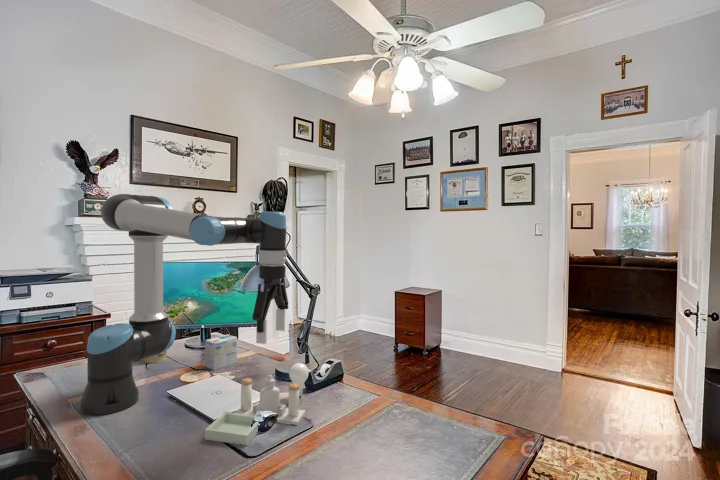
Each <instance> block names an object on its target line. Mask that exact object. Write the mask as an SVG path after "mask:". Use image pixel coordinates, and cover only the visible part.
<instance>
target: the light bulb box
mask: <svg viewBox="0 0 720 480" xmlns="http://www.w3.org/2000/svg"><path fill="white" fill-rule="evenodd" d="M204 347H205V348H204V349H205V350H204V357H205V358H204V367H205V368H208V369H210V370H213V371H216V370H220V369H223V368H225V367H229V366H232V365H235V364H237V363H238V337H237V336H234V335H232V334H228V333H226V334H224V335H223V334H222V335H220V336H216V337H213V338H208V339H205V340H204Z"/></svg>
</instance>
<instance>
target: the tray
mask: <svg viewBox="0 0 720 480" xmlns="http://www.w3.org/2000/svg"><path fill="white" fill-rule="evenodd" d="M254 417H255V416H254V415H247V414H239V413H234V412H229V411H224V412H223V413H222V414H221V415H220V416H218V417H217V418H216V419H215V420H214V421H213V422H212V423H210V425H208V426H207V427H206V428H205V429H204V440H206V441H207V440H208V441H214V442H222V443H227V444H233V443H235V445H240V444H242V445H241V446H249V444H250V443H251V442H252V441H251V440H253V439H254V438H256V436H257V435H256V434H258V433H259V432H258V424H259V423H257V422H255V423H254V424H253V426H252V427H251V424H252V421H253V419H254ZM257 432H258V433H257ZM255 435H256V436H255ZM250 441H251V442H250ZM249 442H250V443H249Z"/></svg>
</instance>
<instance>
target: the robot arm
mask: <svg viewBox="0 0 720 480" xmlns="http://www.w3.org/2000/svg"><path fill="white" fill-rule="evenodd" d="M100 217H101V219H102V221H103V222H104V223H105V224H106V225H107V226H108V227H109V228H111V229H113V230H115V231H116V230H117V231H119V232H121V231H122V232H128V237H129V239H131V240H132V241H133V280H134V281H133V284H134V285H133V287H134V288H133V290H134V291H133V293H134V294H133V298H134V302H133V305H134V308H133V313H132V315H131V316H130V317H128V318H129V319H128V323H114V324H109V325H105V326H102V327H99V328H97V329H95V330H93V331H92V332H91V333H90V334H89V336H88V337H87V345H86V353H87V359H86V361H87V382H86V385H85V388H84V392H83V395H82V397H81V399H80V403H79V404H80V408H79V409H80V412H82V413H83V414H84V415H85V414H86V415H90V416H103V415H106V414H107V415H108V414H114V413H117V412H120V411H124V410H126V409H128V408H130V407H132V406H134V405H135V404H136V403H137V402H138V401H139V399H140V397H139V394H140V393H139V389H138V388H137V385H136V382H135V379H134V376H133V364H134V363H137V362H140V361H144V359H145V358H148V357H151V356H154V355H158V354H160V353H162V352H164V351H166V350H167V351H168V350H169V349H170V348H171V347H172V346H173V345H174V342H175V339H176V333H177V331H176V326H175V325H174V322H173V321H172V319H170V318H169V314H167V313H166V312H165V311H164V241H165V239H167V238H168V237H174V238H179V239H184V240H189V241H193V242H195V243H196V244H197V245H199V246H200V245H201V246H217V245H232V244H234V245H235V244H236V245H237V244H258V245H259V252H258V253H259V254H258V255H259V257H258V259H259V260H258V262H259V264H260V265H259V266H258V269H259V270H258V272H259V273H258V277H259V278H260V279H261V280H262V279H263V283H258V285H257V293H256V300H255V304H254V307H253V313H252V317H251V318H252V321H256V329H255V330H256V333H255V334H256V335H255V336H256V337H255V339H256V340H255V341H256V342H255V343H256V344H261V345H266V344H267V339H268V338H267V337H268V336H267V333H268V330H267V328H268V323H267V322H268V320H267V319H266V317H267V316H268V315H267V314H268V312H269V308H270V306H271V302H272V300H273V301H274V303H275V305H276V307H277V308H276V309H275V331H279V332H280V331H282V332H284V331H286V310H288V309H289V299H288V294H287V289H286V268H287V267H286V266H285V263H286V261H287V260H286V259H287V258H286V257H288V254H287V253H286V250H287V249H286V247H287V246H286V245H287V228H288V227H287V215H286V213H284V212H282V211H260V213H259V217H257V218H256V217H255V218H254V217H253V218H252V217H250V218H249V217H236V216H235V217H229V216H227V217H223V216H213V215H207V214H200V213H194V212H188V211H183V210H178V209H174V206H173V205H172V204H171V203H170V201H169V200H167V199H166V198H163V197H161V196H160V197H159V196H155V195H154V196H153V195H141V194H140V195H139V194H138V195H137V194H130V193H120V194H115V195H112V196H110V197H108V198H107V199H105V201H104V202H103V203H102V206H101V209H100ZM167 351H166V352H167Z"/></svg>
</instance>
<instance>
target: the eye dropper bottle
mask: <svg viewBox="0 0 720 480" xmlns="http://www.w3.org/2000/svg"><path fill="white" fill-rule="evenodd" d="M280 395H281V393H280V388H279V387H277V386H275V379H274V378H273V377H272V375H271V374H270V375H268V378H267V379H266V380H265V387H263V388H261V389H260V393H259V402H260V411H263V410H269V411H272V412H275V413H277V414H278V416H279V409H280V401H281V400H280V397H281V396H280Z"/></svg>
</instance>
